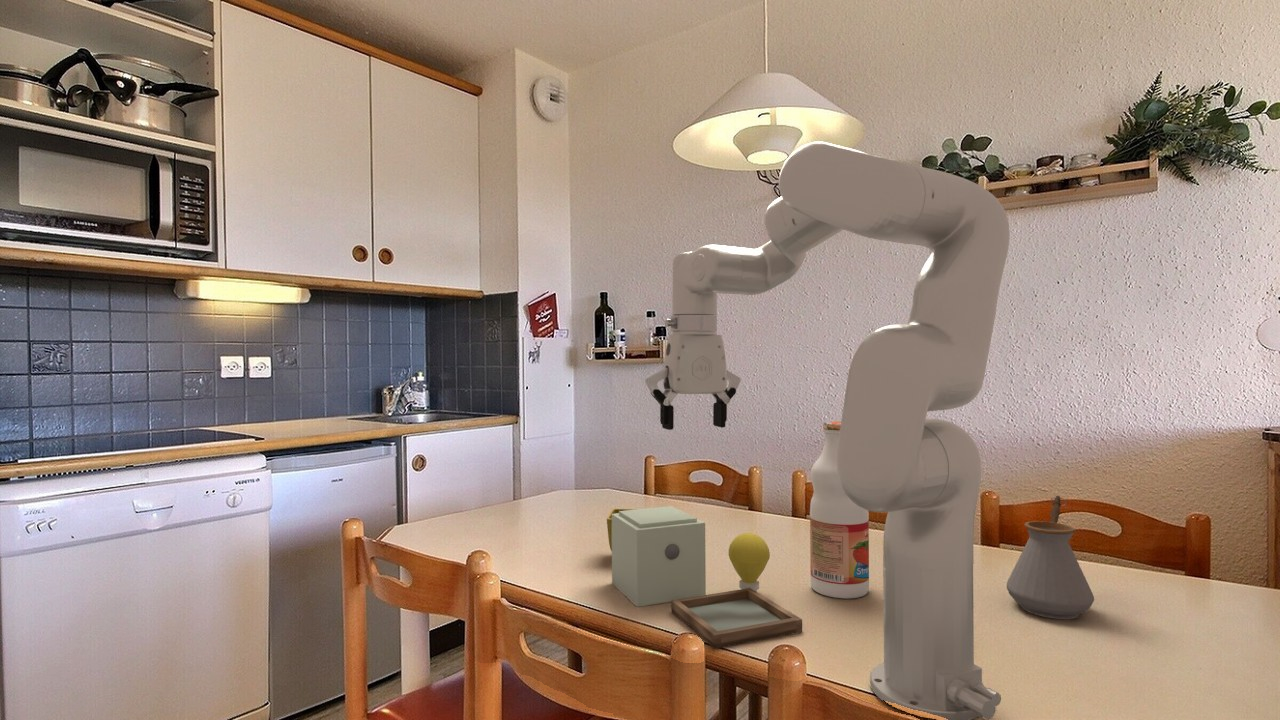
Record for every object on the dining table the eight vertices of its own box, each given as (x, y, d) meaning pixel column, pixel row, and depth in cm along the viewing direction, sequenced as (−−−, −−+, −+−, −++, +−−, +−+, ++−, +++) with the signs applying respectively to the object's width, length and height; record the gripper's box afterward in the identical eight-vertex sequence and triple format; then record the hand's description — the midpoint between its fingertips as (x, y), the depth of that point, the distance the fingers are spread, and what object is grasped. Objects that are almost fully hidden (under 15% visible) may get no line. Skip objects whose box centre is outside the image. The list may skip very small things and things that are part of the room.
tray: (802, 632, 94) (802, 619, 94) (714, 648, 89) (714, 635, 89) (750, 599, 107) (750, 587, 107) (671, 612, 102) (671, 600, 102)
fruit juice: (809, 578, 117) (808, 419, 116) (865, 582, 115) (864, 420, 115) (812, 597, 107) (810, 424, 107) (873, 601, 105) (871, 425, 105)
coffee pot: (1092, 631, 94) (1091, 525, 94) (1000, 612, 101) (999, 513, 101) (1100, 588, 111) (1099, 499, 111) (1021, 575, 118) (1020, 491, 118)
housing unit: (706, 596, 108) (706, 519, 108) (638, 607, 104) (637, 526, 104) (673, 573, 120) (673, 503, 120) (611, 582, 115) (610, 509, 115)
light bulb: (769, 603, 105) (769, 540, 105) (727, 600, 106) (726, 538, 106) (770, 588, 112) (769, 529, 112) (730, 586, 113) (729, 527, 113)
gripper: (655, 324, 105) (655, 432, 105) (750, 326, 111) (749, 428, 112) (638, 326, 112) (638, 427, 112) (728, 327, 118) (728, 423, 119)
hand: (693, 427), depth 112 cm, fingers open, 9 cm apart
